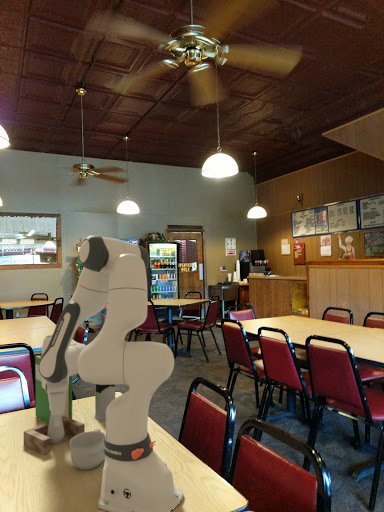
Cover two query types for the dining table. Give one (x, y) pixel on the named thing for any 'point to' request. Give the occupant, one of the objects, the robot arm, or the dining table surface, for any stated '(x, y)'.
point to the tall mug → (103, 399)
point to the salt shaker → (55, 430)
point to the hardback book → (42, 398)
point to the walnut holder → (42, 443)
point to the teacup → (87, 449)
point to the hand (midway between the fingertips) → (55, 420)
